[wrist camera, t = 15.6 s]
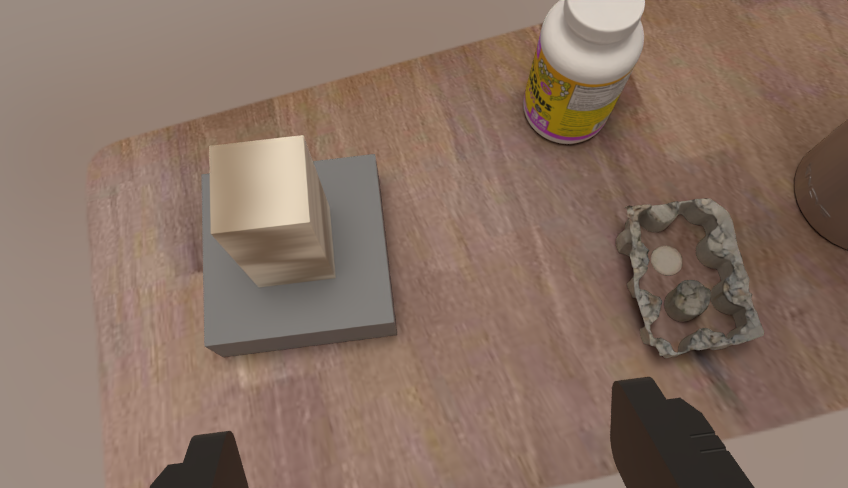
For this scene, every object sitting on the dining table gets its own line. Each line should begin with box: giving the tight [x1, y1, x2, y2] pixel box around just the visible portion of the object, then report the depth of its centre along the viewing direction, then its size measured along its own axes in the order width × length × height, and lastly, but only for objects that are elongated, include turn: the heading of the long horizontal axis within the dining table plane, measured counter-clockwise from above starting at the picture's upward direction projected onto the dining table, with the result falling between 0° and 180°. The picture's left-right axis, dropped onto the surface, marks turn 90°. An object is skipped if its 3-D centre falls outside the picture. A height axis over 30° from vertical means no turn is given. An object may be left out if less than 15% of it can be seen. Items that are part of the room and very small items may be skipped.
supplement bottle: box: [523, 0, 645, 144], centre depth 45 cm, size 7×7×13 cm
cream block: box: [209, 135, 336, 287], centre depth 39 cm, size 5×5×10 cm
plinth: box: [202, 154, 397, 357], centre depth 45 cm, size 12×12×4 cm
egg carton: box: [616, 199, 764, 358], centre depth 45 cm, size 11×8×4 cm
